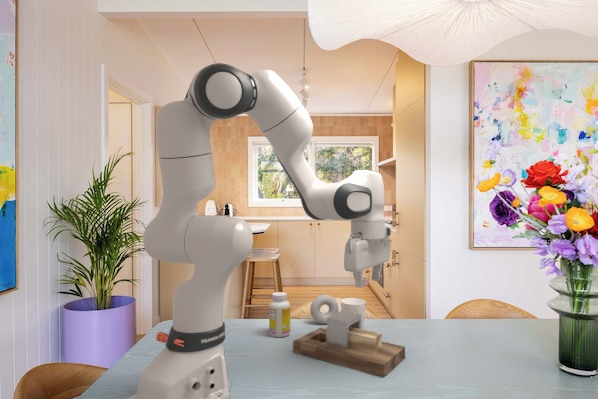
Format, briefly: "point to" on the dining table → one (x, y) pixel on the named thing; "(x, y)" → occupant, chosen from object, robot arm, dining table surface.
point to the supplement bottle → (279, 315)
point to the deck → (350, 354)
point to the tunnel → (341, 328)
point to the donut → (317, 305)
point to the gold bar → (364, 340)
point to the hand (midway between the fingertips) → (368, 283)
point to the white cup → (354, 307)
